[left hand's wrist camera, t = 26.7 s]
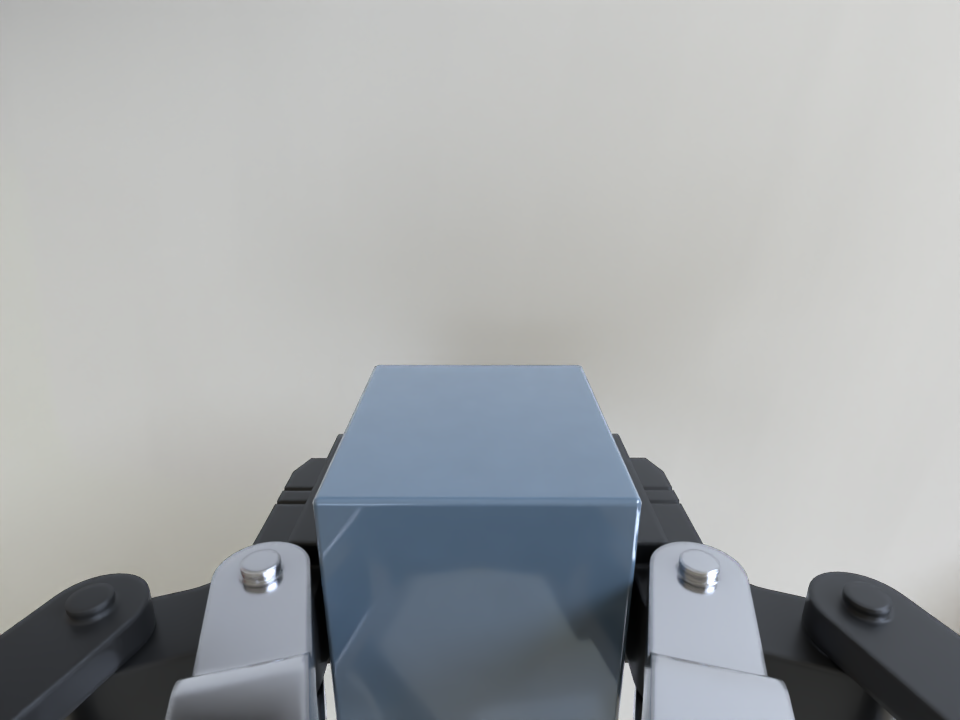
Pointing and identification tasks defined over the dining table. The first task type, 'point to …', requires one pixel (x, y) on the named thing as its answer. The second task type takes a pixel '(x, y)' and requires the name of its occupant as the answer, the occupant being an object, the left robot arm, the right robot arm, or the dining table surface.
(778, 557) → the dining table surface
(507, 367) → the block
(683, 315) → the dining table surface
